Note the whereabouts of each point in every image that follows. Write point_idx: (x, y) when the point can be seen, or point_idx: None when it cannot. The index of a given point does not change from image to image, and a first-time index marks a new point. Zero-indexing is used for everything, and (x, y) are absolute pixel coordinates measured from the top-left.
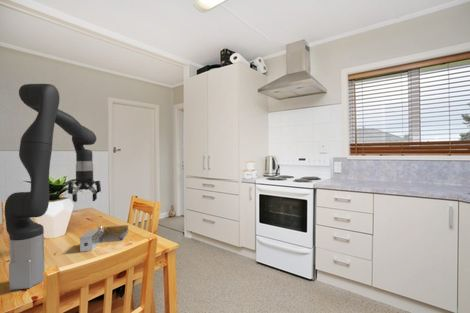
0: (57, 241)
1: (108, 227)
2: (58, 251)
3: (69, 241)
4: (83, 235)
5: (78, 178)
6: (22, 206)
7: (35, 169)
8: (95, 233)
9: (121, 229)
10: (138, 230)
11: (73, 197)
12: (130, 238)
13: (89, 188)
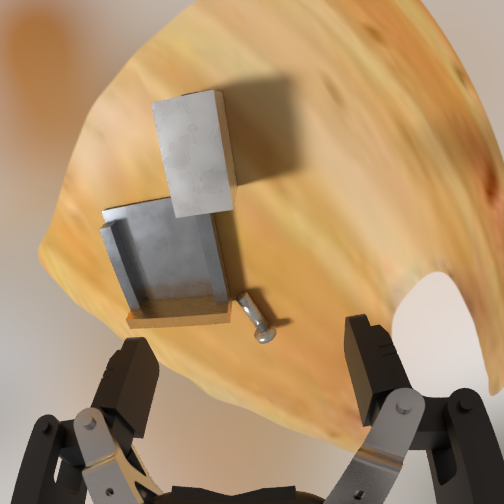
0: (396, 236)
1: (205, 313)
2: (334, 116)
3: (347, 230)
4: (212, 123)
5: None
6: None
7: None
8: (163, 160)
9: (154, 308)
10: (110, 316)
11: (386, 360)
12: (88, 236)
13: (114, 490)
